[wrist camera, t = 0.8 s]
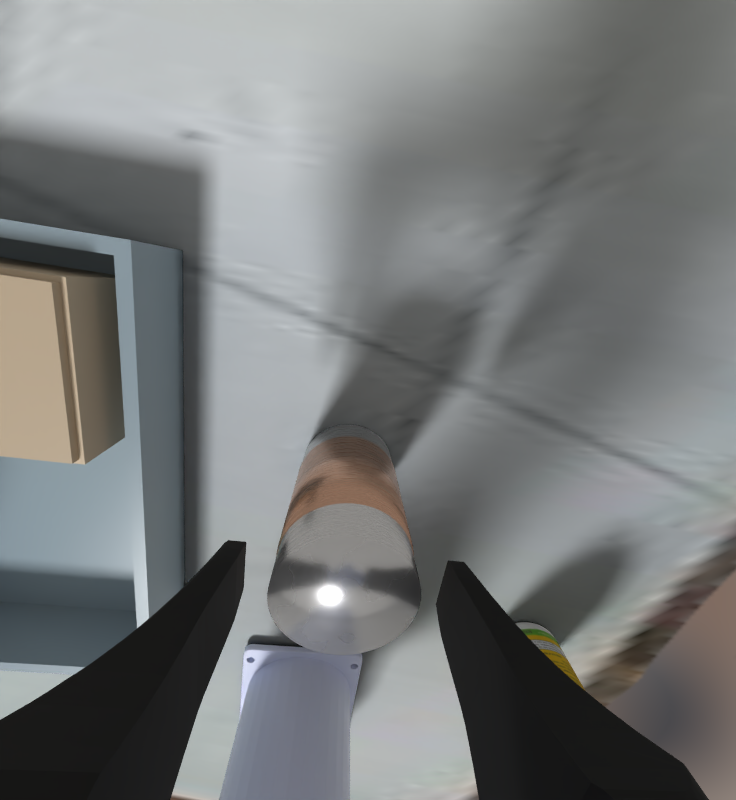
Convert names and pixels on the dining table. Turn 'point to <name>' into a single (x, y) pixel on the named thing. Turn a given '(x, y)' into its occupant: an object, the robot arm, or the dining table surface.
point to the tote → (99, 477)
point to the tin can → (345, 549)
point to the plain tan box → (58, 363)
